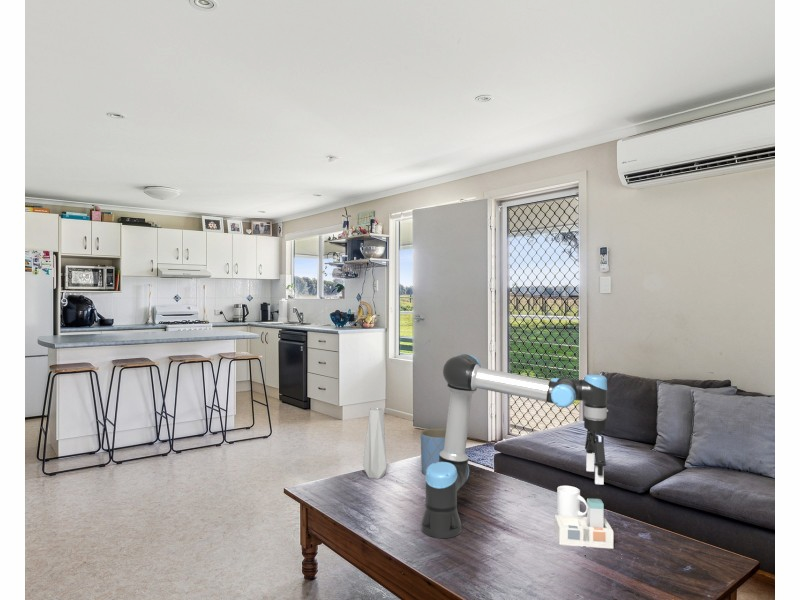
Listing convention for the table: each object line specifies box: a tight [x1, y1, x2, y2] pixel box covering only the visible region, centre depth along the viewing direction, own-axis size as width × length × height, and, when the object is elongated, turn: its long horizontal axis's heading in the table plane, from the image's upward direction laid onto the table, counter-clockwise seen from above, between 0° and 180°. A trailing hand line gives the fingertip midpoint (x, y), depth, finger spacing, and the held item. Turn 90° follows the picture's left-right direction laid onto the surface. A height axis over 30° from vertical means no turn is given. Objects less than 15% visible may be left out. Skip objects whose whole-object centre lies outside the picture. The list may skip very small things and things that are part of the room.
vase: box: [362, 407, 387, 480], centre depth 245 cm, size 12×12×33 cm
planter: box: [420, 427, 446, 476], centre depth 252 cm, size 19×19×20 cm
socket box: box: [554, 514, 614, 550], centre depth 180 cm, size 18×11×6 cm, turn 82°
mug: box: [556, 485, 587, 517], centre depth 199 cm, size 9×12×11 cm
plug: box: [586, 497, 605, 528], centre depth 180 cm, size 5×5×12 cm
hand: (594, 477), depth 180 cm, fingers open, 13 cm apart
